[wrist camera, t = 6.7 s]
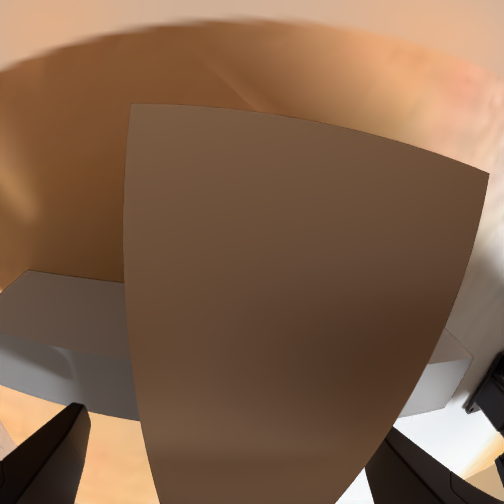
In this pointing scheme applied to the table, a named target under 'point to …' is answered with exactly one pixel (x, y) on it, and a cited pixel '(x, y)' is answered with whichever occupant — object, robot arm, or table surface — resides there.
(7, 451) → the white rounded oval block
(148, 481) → the table surface
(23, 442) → the robot arm
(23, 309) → the notched gray bar
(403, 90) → the table surface
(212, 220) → the walnut slat
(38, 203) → the table surface
